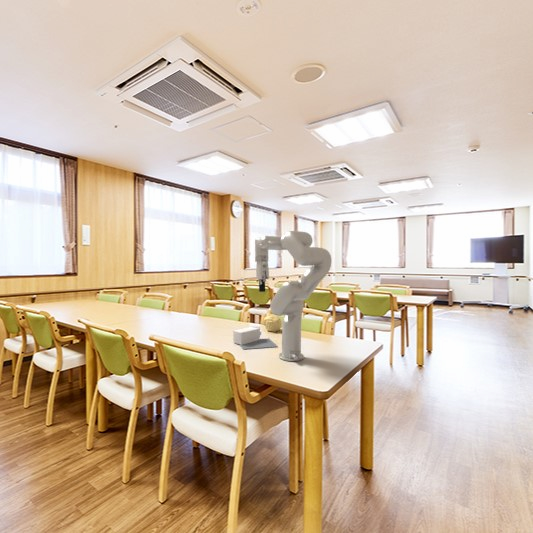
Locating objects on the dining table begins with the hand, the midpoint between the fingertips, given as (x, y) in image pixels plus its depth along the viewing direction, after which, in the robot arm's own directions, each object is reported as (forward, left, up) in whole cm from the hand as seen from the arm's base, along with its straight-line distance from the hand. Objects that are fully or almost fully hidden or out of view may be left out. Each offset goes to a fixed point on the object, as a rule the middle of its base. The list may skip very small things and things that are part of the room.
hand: (262, 291), depth 174 cm
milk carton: (+6, +13, -27) cm, 31 cm away
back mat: (+5, +2, -31) cm, 32 cm away
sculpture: (+35, -17, -32) cm, 50 cm away
